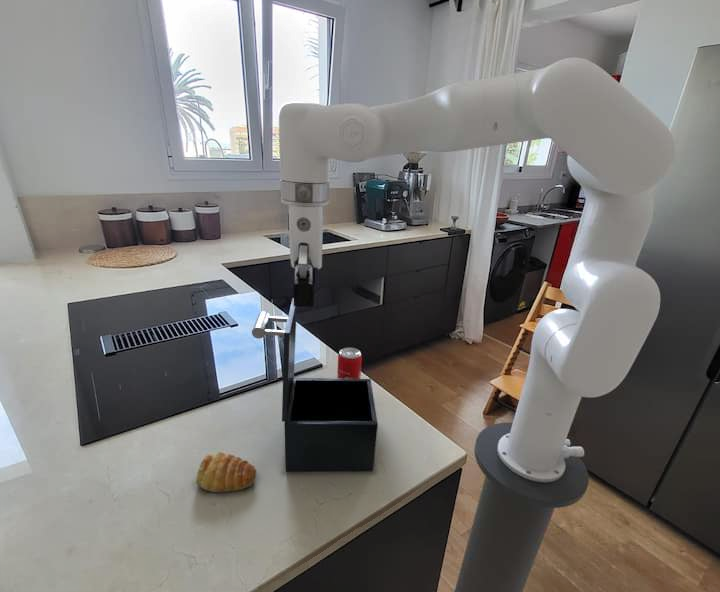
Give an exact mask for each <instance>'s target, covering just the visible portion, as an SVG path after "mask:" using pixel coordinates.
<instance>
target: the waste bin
mask: <svg viewBox="0 0 720 592" xmlns="http://www.w3.org/2000/svg"><path fill="white" fill-rule="evenodd" d="M373 392H374V391H373V386H372V379H371V378H360V379H337V378H331V377H330V378H325V377H324V378H323V377H322V378H321V377H309V378H308V377H294V379H293V385H292V392H291V398H290V404H289V411H288V417H287V422H283V423H284V425H283V426H284V456H285V458H284V459H285V462H284V463H285V472H287V473H304V472H305V473H307V472H308V473H312V472H313V473H317V472H319V473H321V472H322V473H326V472H332V473H333V472H373V471H374V466H375V465H374V464H375V455H376V446H377V445H376V444H377V435H378V426H379V425H378V423H379V422H378V418H377V412H376V405H375V399H374V398H375V397H374V393H373Z"/></svg>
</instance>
